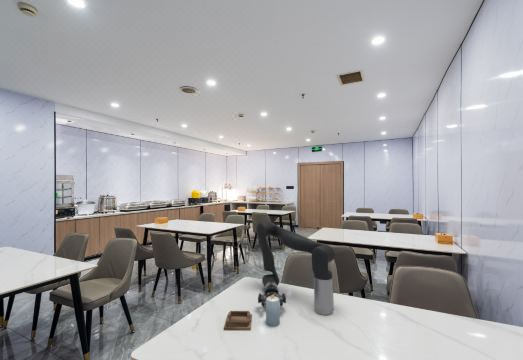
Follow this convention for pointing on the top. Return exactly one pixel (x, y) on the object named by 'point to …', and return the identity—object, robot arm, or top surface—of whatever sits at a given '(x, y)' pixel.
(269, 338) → the top surface
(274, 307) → the candle jar
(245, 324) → the tray
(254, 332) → the top surface
